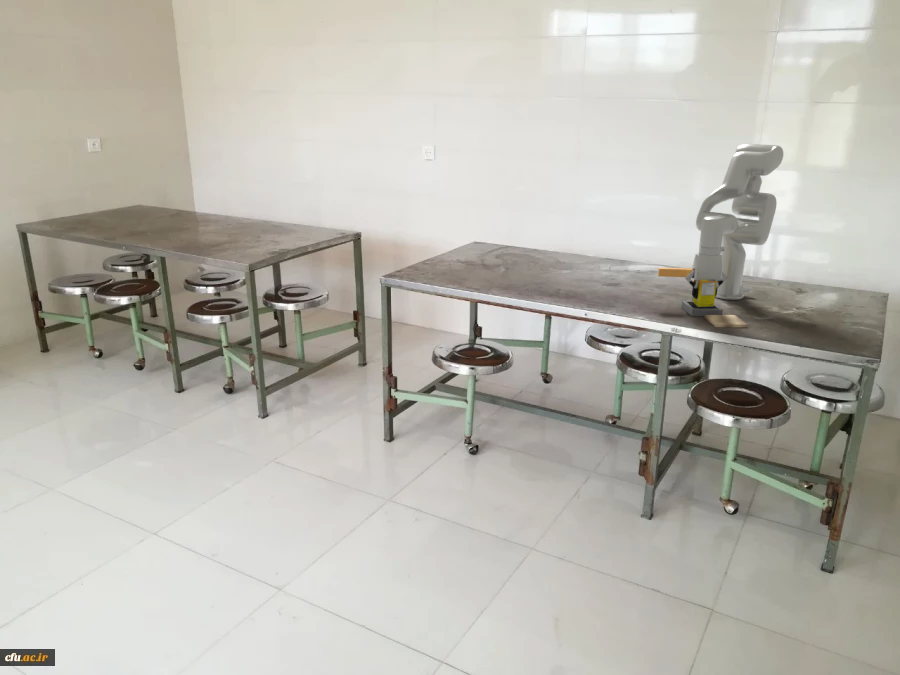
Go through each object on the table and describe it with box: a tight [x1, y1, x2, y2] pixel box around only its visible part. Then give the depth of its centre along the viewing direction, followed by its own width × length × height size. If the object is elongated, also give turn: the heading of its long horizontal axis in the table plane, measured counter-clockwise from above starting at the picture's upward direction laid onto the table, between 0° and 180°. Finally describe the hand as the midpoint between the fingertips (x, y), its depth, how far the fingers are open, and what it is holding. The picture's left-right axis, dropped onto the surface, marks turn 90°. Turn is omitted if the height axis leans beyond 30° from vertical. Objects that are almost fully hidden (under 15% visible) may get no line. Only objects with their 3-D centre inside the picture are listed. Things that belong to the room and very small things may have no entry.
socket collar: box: [681, 300, 724, 317], centre depth 255 cm, size 11×11×2 cm
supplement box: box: [692, 280, 717, 309], centre depth 253 cm, size 6×6×11 cm
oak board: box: [703, 314, 748, 328], centre depth 243 cm, size 11×11×1 cm
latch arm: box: [657, 267, 694, 301], centre depth 260 cm, size 16×2×15 cm, turn 84°
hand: (703, 297), depth 254 cm, fingers closed on supplement box, 6 cm apart
